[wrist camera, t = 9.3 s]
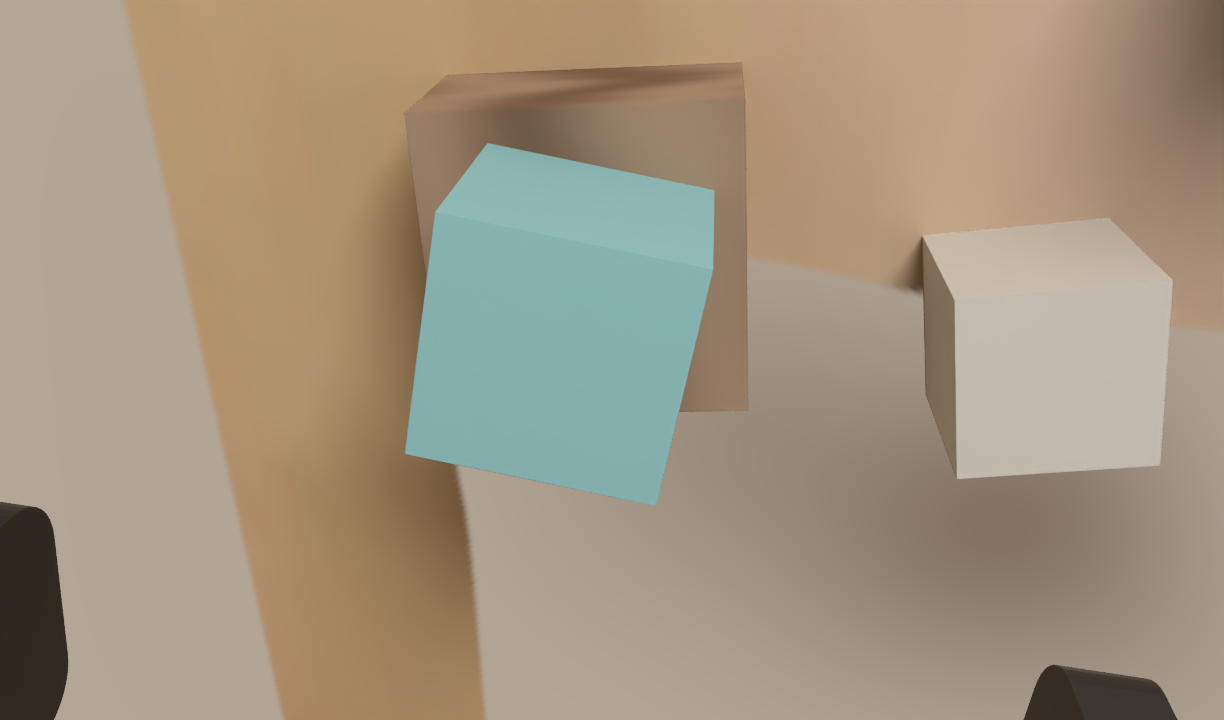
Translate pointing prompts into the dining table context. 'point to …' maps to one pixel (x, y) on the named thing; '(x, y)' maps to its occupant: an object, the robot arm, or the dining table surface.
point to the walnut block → (614, 167)
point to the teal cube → (560, 322)
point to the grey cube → (1045, 348)
